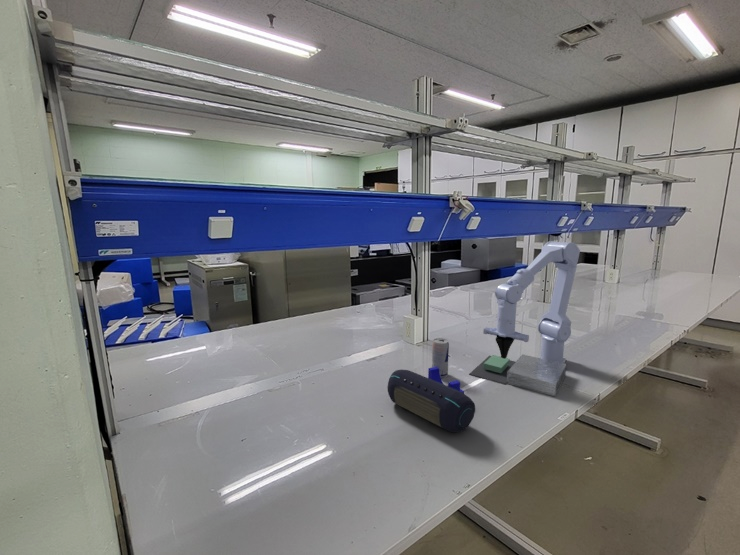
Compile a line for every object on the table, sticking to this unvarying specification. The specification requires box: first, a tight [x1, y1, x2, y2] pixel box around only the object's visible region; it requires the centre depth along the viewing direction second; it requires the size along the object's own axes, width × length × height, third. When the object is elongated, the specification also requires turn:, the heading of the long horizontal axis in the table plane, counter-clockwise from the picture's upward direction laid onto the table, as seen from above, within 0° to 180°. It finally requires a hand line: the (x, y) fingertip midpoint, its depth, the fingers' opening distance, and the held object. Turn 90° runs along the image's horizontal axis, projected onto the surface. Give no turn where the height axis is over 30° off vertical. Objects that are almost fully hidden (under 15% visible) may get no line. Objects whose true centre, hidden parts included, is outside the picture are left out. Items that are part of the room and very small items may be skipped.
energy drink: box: [431, 338, 450, 379], centre depth 118 cm, size 5×5×12 cm
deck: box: [506, 354, 567, 397], centre depth 115 cm, size 18×14×4 cm
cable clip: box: [427, 366, 465, 394], centre depth 106 cm, size 12×4×6 cm, turn 23°
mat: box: [468, 355, 516, 385], centre depth 123 cm, size 20×12×1 cm, turn 142°
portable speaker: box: [386, 369, 476, 433], centre depth 94 cm, size 25×10×10 cm, turn 43°
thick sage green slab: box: [484, 354, 511, 373], centre depth 123 cm, size 9×6×3 cm, turn 142°
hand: (504, 357), depth 121 cm, fingers closed
